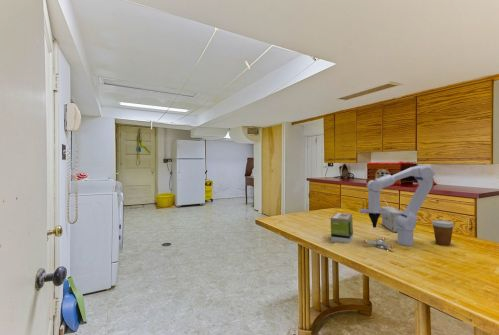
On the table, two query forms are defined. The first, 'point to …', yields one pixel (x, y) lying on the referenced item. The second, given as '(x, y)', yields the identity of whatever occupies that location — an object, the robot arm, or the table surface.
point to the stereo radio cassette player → (390, 218)
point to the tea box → (341, 227)
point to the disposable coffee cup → (443, 231)
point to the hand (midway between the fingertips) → (374, 227)
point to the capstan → (380, 243)
